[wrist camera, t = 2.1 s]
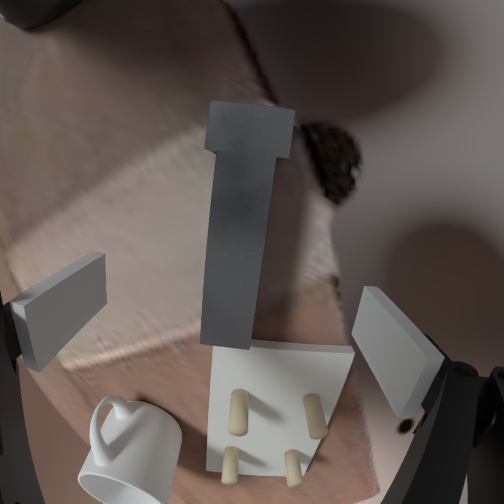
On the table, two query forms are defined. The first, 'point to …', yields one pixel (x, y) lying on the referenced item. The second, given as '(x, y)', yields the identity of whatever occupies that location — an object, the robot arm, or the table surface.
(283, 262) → the table surface
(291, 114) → the grey bar
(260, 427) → the rack
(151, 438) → the mug
